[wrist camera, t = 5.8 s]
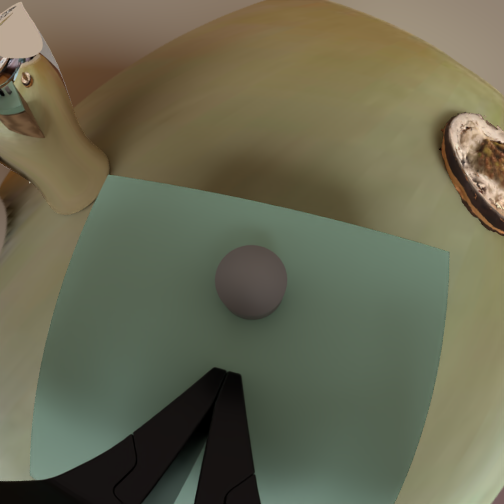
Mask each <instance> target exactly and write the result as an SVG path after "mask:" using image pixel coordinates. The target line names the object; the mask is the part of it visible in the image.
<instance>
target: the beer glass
mask: <svg viewBox="0 0 504 504" xmlns="http://www.w3.org/2000/svg"><path fill="white" fill-rule="evenodd" d="M0 164H2V165H4V166H5V167H7V168H8V169H10V170H12V171H14V172H15V173H17V174H19V175H20V176H22V177H23V178H25V179H26V180H28V181H29V183H31V184H33V185H34V186H35V187H36V188H37V189H38V190H39V192H40V193H41V194H42V196H43V197H44V199H45V200H46V202H47V203H48V205H49V206H50V207H51V208H52V209H53V210H54V211H55V212H56V213H59V214H62V215H69V214H74V213H77V212H79V211H81V210H83V209H84V208H86V207H87V206H88V205H90V204H91V203H92V202H93V201H94V200H95V199H96V198H97V196H98V194H99V192H100V190H101V188H102V186H103V184H104V182H105V180H106V178H107V176H108V175H109V171H110V165H109V161H108V158H107V156H106V155H105V154H104V153H103V152H102V151H101V150H100V149H99V148H98V147H96V146H95V145H94V144H93V143H92V142H91V141H90V140H89V139H88V138H87V136H86V135H85V134H84V132H83V130H82V128H81V127H80V125H79V122H78V120H77V117H76V115H75V112H74V109H73V106H72V103H71V100H70V97H69V95H68V92H67V89H66V86H65V83H64V80H63V78H62V75H61V73H60V70H59V67H58V65H57V63H56V61H55V59H54V57H53V55H52V53H51V51H50V49H49V47H48V45H47V43H46V42H45V40H44V38H43V36H42V35H41V33H40V32H39V30H38V28H37V27H36V25H35V24H34V22H33V21H32V19H31V18H30V16H29V15H28V13H27V11H26V10H25V8H24V6H23V4H22V2H19V3H17V4H15V5H13V6H11V7H10V8H8V9H7V10H6V11H4V12H2V13H1V14H0Z"/></svg>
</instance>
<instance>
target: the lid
mask: <svg viewBox="0 0 504 504" xmlns="http://www.w3.org/2000/svg"><path fill="white" fill-rule="evenodd" d="M448 282H449V252H448V251H445V250H441V249H438V248H435V247H431V246H428V245H425V244H421V243H418V242H415V241H411V240H408V239H404V238H401V237H397V236H394V235H390V234H387V233H383V232H379V231H376V230H372V229H368V228H365V227H361V226H357V225H353V224H349V223H345V222H342V221H338V220H334V219H330V218H326V217H322V216H318V215H313V214H309V213H305V212H301V211H297V210H292V209H288V208H284V207H279V206H275V205H270V204H266V203H261V202H257V201H252V200H247V199H242V198H238V197H233V196H228V195H223V194H218V193H213V192H208V191H202V190H197V189H192V188H186V187H181V186H175V185H170V184H164V183H158V182H152V181H146V180H140V179H134V178H128V177H121V176H115V175H108V176H107V178H106V180H105V182H104V184H103V186H102V188H101V190H100V192H99V194H98V196H97V199H96V201H95V203H94V205H93V207H92V209H91V212H90V214H89V216H88V218H87V221H86V223H85V225H84V228H83V230H82V232H81V235H80V237H79V240H78V242H77V245H76V247H75V250H74V252H73V255H72V258H71V261H70V263H69V266H68V269H67V272H66V275H65V277H64V280H63V283H62V287H61V290H60V293H59V296H58V299H57V303H56V306H55V309H54V313H53V316H52V320H51V324H50V328H49V332H48V336H47V340H46V344H45V348H44V353H43V358H42V362H41V368H40V373H39V378H38V384H37V391H36V397H35V405H34V413H33V423H32V434H31V451H30V476H32V477H33V478H34V479H35V480H42V479H48V478H52V477H55V476H57V475H60V474H62V473H64V472H66V471H69V470H71V469H73V468H75V467H77V466H79V465H81V464H83V463H85V462H87V461H89V460H91V459H93V458H95V457H96V456H98V455H100V454H102V453H103V452H105V451H107V450H109V449H110V448H112V447H113V446H115V445H116V444H117V443H119V442H120V441H122V440H123V439H124V438H126V437H127V436H128V435H130V434H133V432H134V431H135V430H137V429H138V428H139V427H140V426H142V425H143V424H144V423H146V422H147V421H148V420H150V419H151V418H152V417H153V416H155V415H156V414H157V413H158V412H160V411H161V410H162V409H163V408H165V407H166V406H167V405H168V404H170V403H171V402H172V401H173V400H175V399H176V398H177V397H178V396H179V395H181V394H182V393H183V392H184V391H186V390H187V389H188V388H189V387H190V386H192V385H193V384H194V383H195V382H196V381H198V380H199V379H200V378H201V377H202V376H203V375H205V374H206V373H207V372H208V371H209V370H211V369H212V368H213V367H218V368H221V369H225V370H226V371H227V372H228V371H232V372H236V373H239V374H241V376H242V382H243V390H244V398H245V405H246V412H247V420H248V427H249V434H250V441H251V448H252V454H253V461H254V468H255V475H256V480H257V486H258V491H259V496H260V501H261V504H394V503H395V501H396V499H397V497H398V494H399V492H400V490H401V488H402V485H403V483H404V481H405V478H406V476H407V473H408V471H409V468H410V465H411V463H412V460H413V457H414V455H415V452H416V449H417V446H418V443H419V440H420V437H421V434H422V431H423V427H424V424H425V420H426V417H427V413H428V410H429V406H430V402H431V398H432V394H433V390H434V385H435V380H436V376H437V371H438V366H439V360H440V354H441V348H442V342H443V335H444V327H445V319H446V309H447V297H448ZM205 445H206V443H205ZM205 445H204V447H203V449H202V451H201V453H200V455H199V457H198V458H197V460H196V462H195V464H194V466H193V468H192V470H191V472H190V474H189V476H188V478H187V480H186V482H185V484H184V485H183V487H182V489H181V491H180V493H179V495H178V497H177V499H176V501H175V502H174V504H194V500H195V495H196V490H197V485H198V480H199V475H200V470H201V465H202V460H203V455H204V450H205Z"/></svg>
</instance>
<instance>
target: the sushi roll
mask: <svg viewBox="0 0 504 504" xmlns="http://www.w3.org/2000/svg"><path fill="white" fill-rule="evenodd" d="M484 116H485V115H484ZM485 117H486V116H485ZM497 127H498V129H497V128H496V127H495V126H494V125H492V124H491V123H489V122H488V121H487V120H486V122H485V120H484V119H483V117H482V116H481V115H480V114H473V113H471V114H468V113H466V112H465V113H461V114H458V115H457V116H454V117H452V118H451V119H450V120H449V121H448V122H447V123H446V126H445V127H444V129H441V130H442V131H443V133H444V135H443V141H442V148H440V149H439V150H441V151H442V156H443V159H444V161H445V166H446V169H447V172H448V174H449V176H450V178H451V180H452V183H453V184H454V186H455V188H456V189H457V191H458V193H459V194H460V196H461V200H462V203H463V204H464V206H465V207H466V208H467V210H468V211H469V212H470V213H471V214H472V215H473V216H474V217H476V218H478V219H479V220H480V222H481V224H482V225H483V226H484V227H485V228H486V229H488V230H491V231H493V232H497V233H498V234H500V235H502V236H504V132H503V130H502V129H501V128H500V127H499V126H497Z"/></svg>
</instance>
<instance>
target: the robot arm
mask: <svg viewBox="0 0 504 504" xmlns="http://www.w3.org/2000/svg"><path fill="white" fill-rule="evenodd" d="M205 443H206V445H205ZM204 445H205V450H204V455H203V460H202V465H201V470H200V475H199V480H198V485H197V490H196V495H195V500H194V504H261V501H260V496H259V491H258V486H257V480H256V475H255V468H254V461H253V454H252V448H251V441H250V434H249V427H248V420H247V412H246V405H245V398H244V390H243V382H242V376H241V374H239V373H236V372H232V371H228V372H227V371H226V370H225V369H221V368H218V367H213V368H212V369H211V370H209V371H208V372H207V373H206V374H205V375H203V376H202V377H201V378H200V379H199V380H198V381H196V382H195V383H194V384H193V385H192V386H190V387H189V388H188V389H187V390H186V391H184V392H183V393H182V394H181V395H179V396H178V397H177V398H176V399H175V400H173V401H172V402H171V403H170V404H168V405H167V406H166V407H165V408H163V409H162V410H161V411H160V412H158V413H157V414H156V415H155V416H153V417H152V418H151V419H150V420H148V421H147V422H146V423H144V424H143V425H142V426H140V427H139V428H138V429H137V430H135V431H134V432H133V434H130V435H128V436H127V437H126V438H124V439H123V440H122V441H120V442H119V443H117V444H116V445H115V446H113V447H112V448H110V449H109V450H107V451H105V452H103V453H102V454H100V455H98V456H96V457H95V458H93V459H91V460H89V461H87V462H85V463H83V464H81V465H79V466H77V467H75V468H73V469H71V470H69V471H66V472H64V473H62V474H60V475H57V476H55V477H52V478H48V479H42V480H31V481H0V504H174V502H175V501H176V499H177V497H178V495H179V493H180V491H181V489H182V487H183V485H184V484H185V482H186V480H187V478H188V476H189V474H190V472H191V470H192V468H193V466H194V464H195V462H196V460H197V458H198V457H199V455H200V453H201V451H202V449H203V447H204Z"/></svg>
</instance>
